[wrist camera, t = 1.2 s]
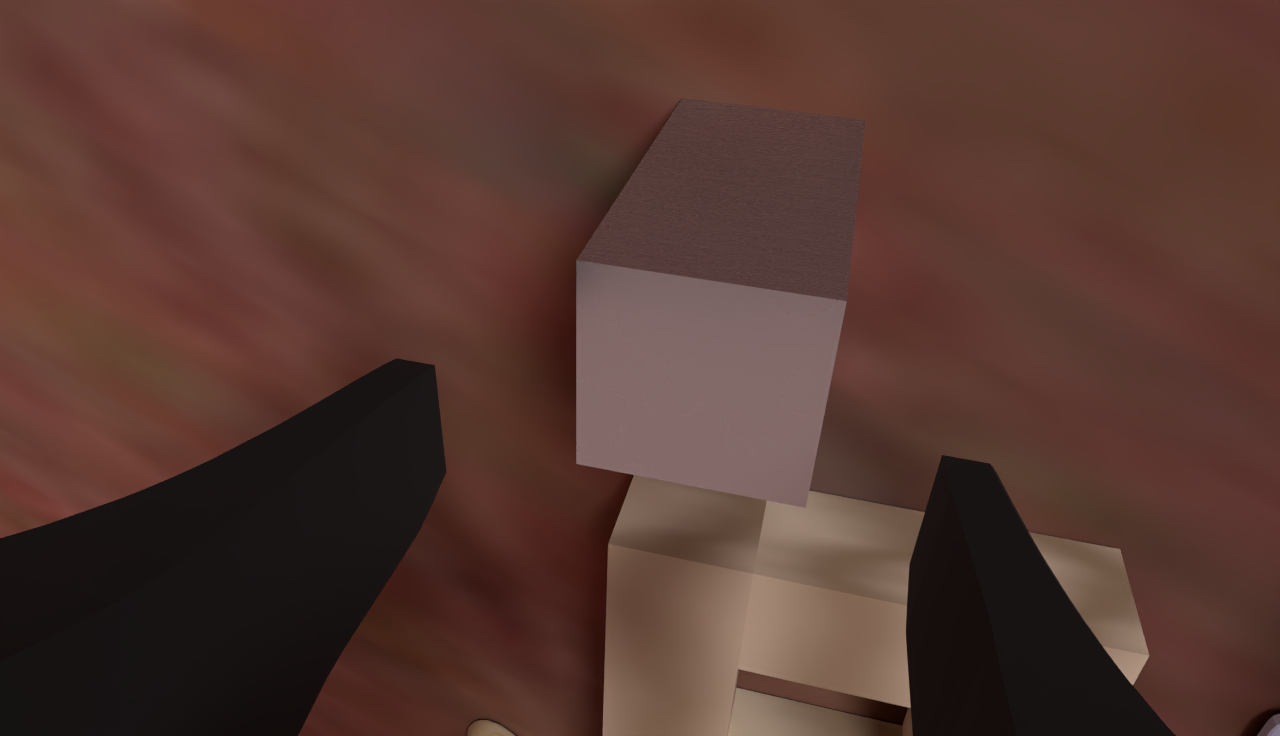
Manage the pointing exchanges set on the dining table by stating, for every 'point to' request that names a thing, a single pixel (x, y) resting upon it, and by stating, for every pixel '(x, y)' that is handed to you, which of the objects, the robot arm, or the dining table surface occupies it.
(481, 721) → the grandmother figurine
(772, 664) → the maple hole block
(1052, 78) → the dining table surface
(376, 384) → the robot arm
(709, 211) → the steel peg
